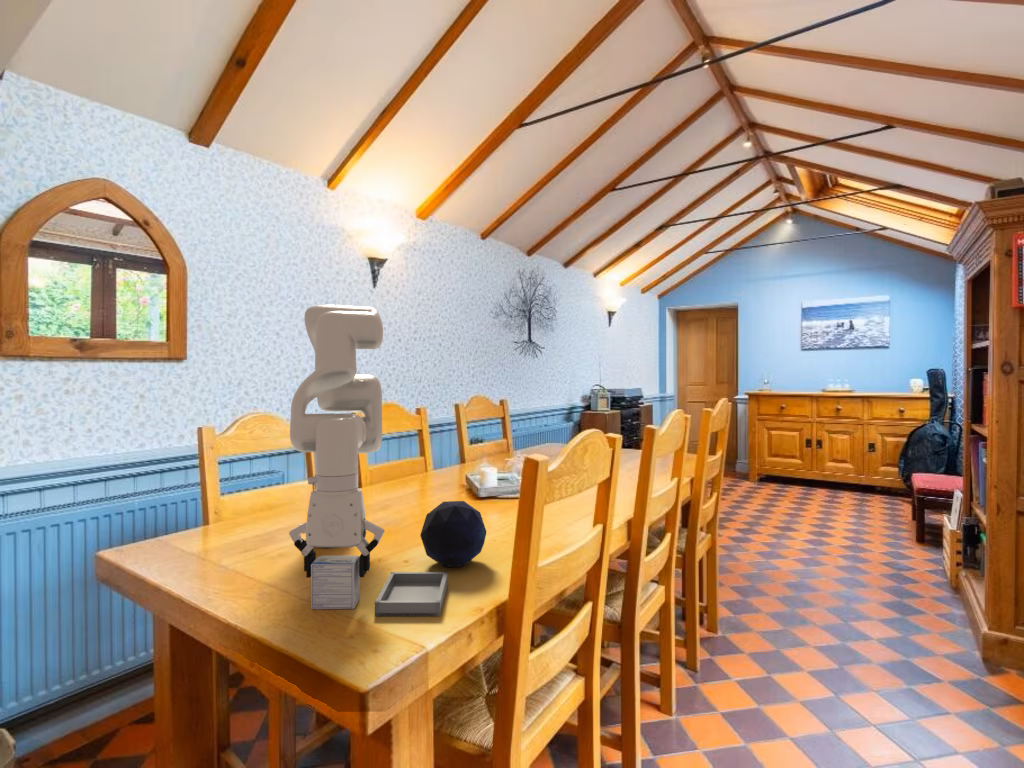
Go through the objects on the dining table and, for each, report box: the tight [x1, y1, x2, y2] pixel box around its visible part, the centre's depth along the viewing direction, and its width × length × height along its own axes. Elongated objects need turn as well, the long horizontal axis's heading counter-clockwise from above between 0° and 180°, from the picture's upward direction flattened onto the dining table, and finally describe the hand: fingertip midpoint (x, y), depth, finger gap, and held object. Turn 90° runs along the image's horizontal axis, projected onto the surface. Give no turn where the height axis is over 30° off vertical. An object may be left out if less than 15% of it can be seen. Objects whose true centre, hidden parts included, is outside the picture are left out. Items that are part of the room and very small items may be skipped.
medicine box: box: [310, 554, 361, 610], centre depth 102 cm, size 8×4×9 cm, turn 92°
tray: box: [374, 571, 449, 617], centre depth 105 cm, size 12×15×2 cm
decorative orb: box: [420, 500, 487, 568], centre depth 124 cm, size 14×15×15 cm
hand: (337, 575), depth 102 cm, fingers open, 9 cm apart
